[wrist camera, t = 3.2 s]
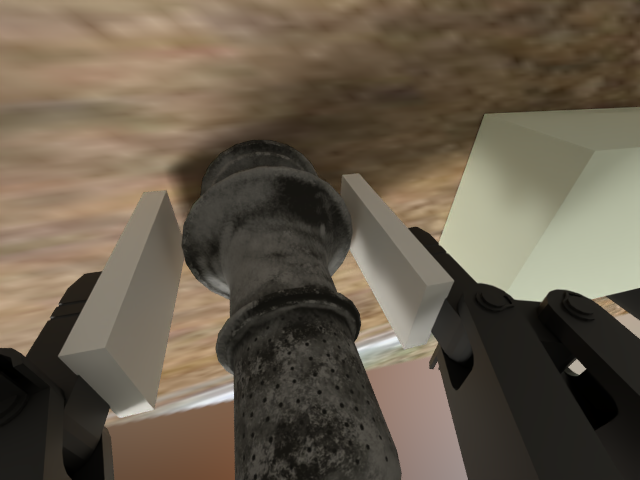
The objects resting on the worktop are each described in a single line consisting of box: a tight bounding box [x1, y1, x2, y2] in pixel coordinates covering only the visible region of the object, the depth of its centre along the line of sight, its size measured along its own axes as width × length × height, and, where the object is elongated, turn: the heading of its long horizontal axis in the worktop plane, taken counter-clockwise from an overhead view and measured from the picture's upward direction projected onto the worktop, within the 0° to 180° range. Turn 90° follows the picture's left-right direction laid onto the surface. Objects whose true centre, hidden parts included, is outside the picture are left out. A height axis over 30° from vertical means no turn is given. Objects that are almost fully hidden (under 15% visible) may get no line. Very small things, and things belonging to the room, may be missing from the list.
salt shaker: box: [181, 140, 402, 480], centre depth 8 cm, size 6×6×12 cm
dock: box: [439, 107, 640, 302], centre depth 14 cm, size 14×9×7 cm, turn 89°
